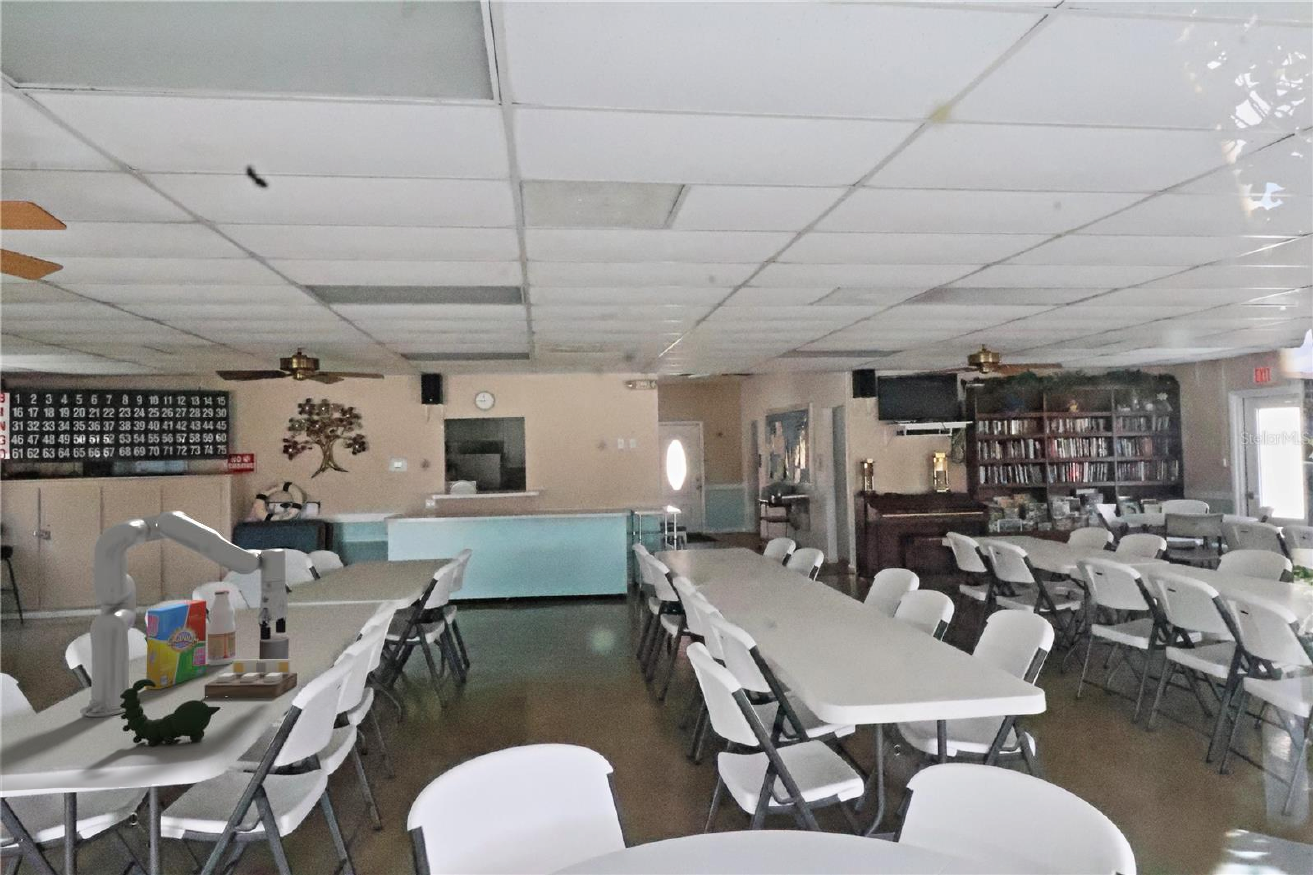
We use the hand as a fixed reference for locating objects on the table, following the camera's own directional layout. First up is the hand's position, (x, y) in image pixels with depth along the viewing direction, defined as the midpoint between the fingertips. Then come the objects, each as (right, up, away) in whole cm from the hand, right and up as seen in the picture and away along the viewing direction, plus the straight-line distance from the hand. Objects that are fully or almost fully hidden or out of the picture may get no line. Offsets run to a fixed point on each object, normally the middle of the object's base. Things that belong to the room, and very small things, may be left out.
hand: (273, 636), depth 256 cm
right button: (+1, -15, -1) cm, 15 cm away
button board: (-7, -19, 0) cm, 20 cm away
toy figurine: (-4, -17, -47) cm, 50 cm away
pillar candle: (-9, -20, +18) cm, 28 cm away
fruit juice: (-40, -21, +38) cm, 59 cm away
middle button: (-7, -15, -1) cm, 17 cm away
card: (-7, -15, +6) cm, 18 cm away
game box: (-41, -20, +13) cm, 47 cm away
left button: (-15, -16, -1) cm, 22 cm away
